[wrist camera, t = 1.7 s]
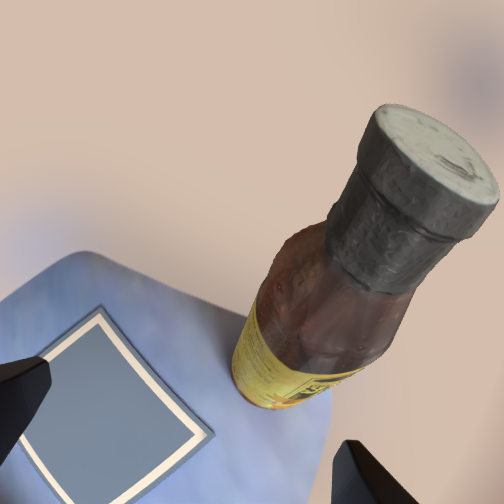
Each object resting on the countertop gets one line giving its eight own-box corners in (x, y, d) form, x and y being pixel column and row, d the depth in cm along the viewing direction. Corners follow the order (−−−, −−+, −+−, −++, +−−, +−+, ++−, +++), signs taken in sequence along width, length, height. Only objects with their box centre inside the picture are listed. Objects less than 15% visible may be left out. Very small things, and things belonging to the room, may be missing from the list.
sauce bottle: (273, 428, 20) (525, 333, 3) (211, 370, 22) (254, 112, 5) (328, 366, 23) (530, 184, 7) (270, 315, 25) (384, 72, 9)
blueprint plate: (215, 435, 19) (216, 435, 18) (91, 532, 12) (89, 534, 12) (102, 308, 23) (100, 306, 22) (-6, 396, 16) (-9, 395, 16)
